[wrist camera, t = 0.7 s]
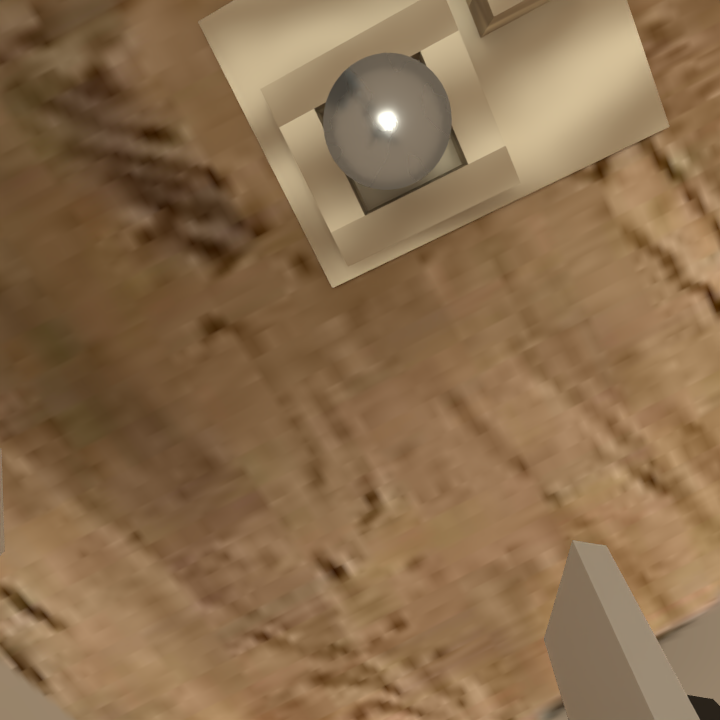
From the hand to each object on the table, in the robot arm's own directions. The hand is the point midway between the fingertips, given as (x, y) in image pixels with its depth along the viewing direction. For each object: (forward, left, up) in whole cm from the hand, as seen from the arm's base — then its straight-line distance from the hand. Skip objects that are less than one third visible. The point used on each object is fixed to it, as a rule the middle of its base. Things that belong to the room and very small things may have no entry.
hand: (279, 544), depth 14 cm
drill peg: (-8, +6, -25) cm, 26 cm away
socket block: (-9, +9, -25) cm, 28 cm away
